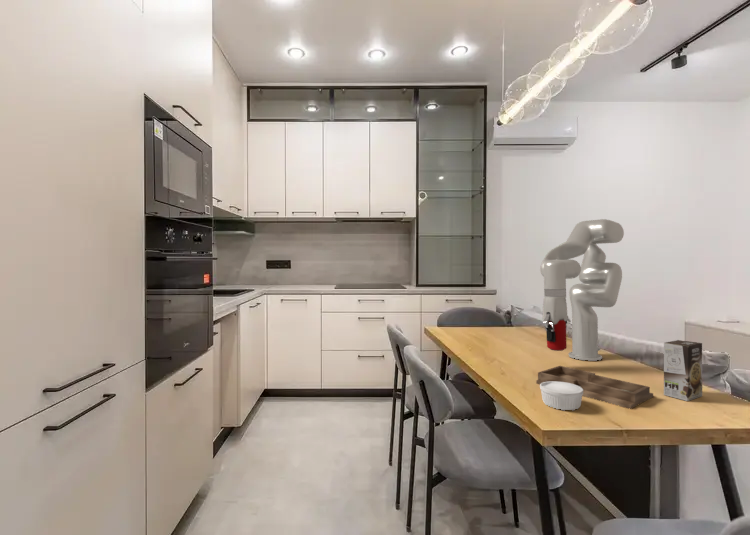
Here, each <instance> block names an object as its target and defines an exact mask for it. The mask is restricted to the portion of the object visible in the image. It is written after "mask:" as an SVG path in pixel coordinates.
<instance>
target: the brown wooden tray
mask: <svg viewBox="0 0 750 535" xmlns="http://www.w3.org/2000/svg"><path fill="white" fill-rule="evenodd" d="M535 381H536V384H537V385H540V384H541V383H543V382H549V381H557V382H566V383H571V384H575V385H577V386H580V387H581V388H582V389H583V395H582V397H585V396H586V398H589V397H590V398H589V399H592V398H594V399H593V400H596V399H597V400H596V401H600V400H601V401H600V402H603V401H605V402H604V403H607V402H608V404H611V403H612V404H611V405H614V404H615V406H618V405H619V407H623V408H625V407H626V408H627V409H629V408H630V409H629V410H631V408H632V409H634V408H635V407H637V406H638V404H639V405H641V404H642V402H643V403H644V402H646V401H648V400H650V399H651V398H653V397H654V393H653V392H651V390H650V386H648V385H643V384H639V383H634V382H630V381H625V380H620V379H616V378H611V377H606V376H602V375H597V374H596V372H595V373H594V372H590V371H586V370H582V369H577V368H574V367H573V368H572V367H568V366H563V365H558V366H554V367H552V368H548V369H545V370H541V371H538V372H537V380H535ZM640 403H641V404H640ZM636 405H637V406H636Z"/></svg>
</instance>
